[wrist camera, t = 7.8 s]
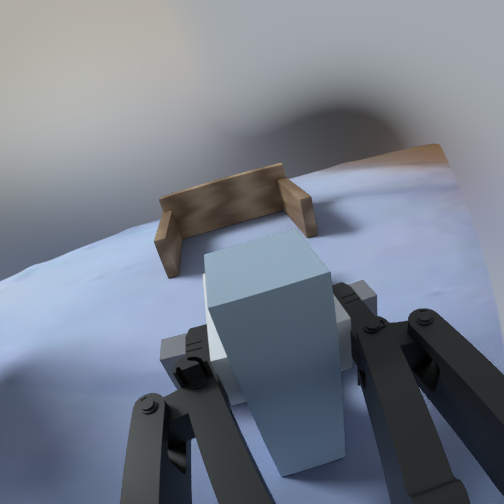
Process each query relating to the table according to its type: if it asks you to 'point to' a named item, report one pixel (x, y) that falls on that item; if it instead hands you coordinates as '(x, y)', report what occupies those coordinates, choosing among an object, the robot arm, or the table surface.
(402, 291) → the table surface
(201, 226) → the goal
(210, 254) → the block
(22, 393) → the table surface
